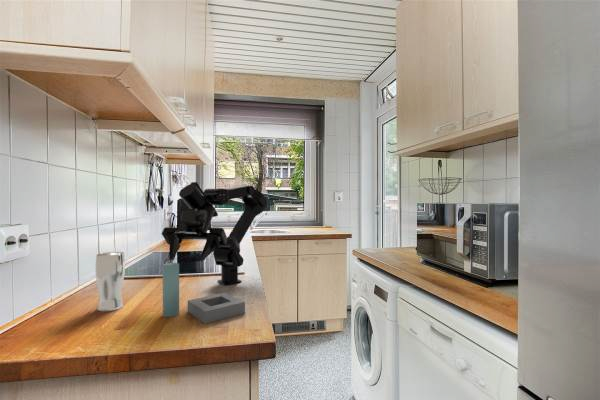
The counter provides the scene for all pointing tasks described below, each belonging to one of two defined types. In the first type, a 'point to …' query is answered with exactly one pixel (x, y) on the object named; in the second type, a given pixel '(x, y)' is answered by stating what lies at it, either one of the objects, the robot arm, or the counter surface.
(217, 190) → the robot arm
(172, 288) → the peg
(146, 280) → the counter surface
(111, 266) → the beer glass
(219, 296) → the socket block
